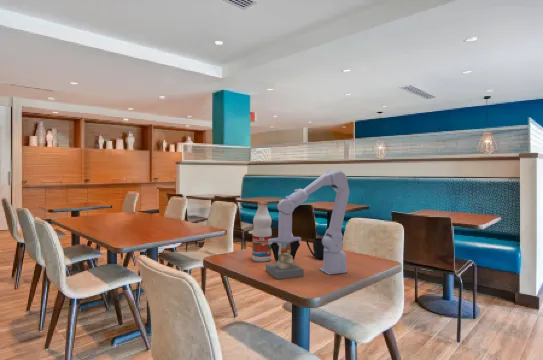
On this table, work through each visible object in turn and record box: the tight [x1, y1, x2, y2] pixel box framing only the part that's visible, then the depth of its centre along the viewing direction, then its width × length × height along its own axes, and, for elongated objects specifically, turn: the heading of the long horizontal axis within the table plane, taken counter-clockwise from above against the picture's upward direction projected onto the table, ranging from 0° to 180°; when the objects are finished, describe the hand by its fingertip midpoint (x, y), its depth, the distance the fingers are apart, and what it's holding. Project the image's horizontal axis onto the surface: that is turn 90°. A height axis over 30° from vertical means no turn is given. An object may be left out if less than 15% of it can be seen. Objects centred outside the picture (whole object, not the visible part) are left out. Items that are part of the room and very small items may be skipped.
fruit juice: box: [251, 201, 273, 263], centre depth 160 cm, size 9×9×28 cm
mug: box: [306, 237, 324, 261], centre depth 166 cm, size 8×12×10 cm
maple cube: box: [276, 253, 294, 269], centre depth 139 cm, size 5×5×5 cm
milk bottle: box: [277, 233, 294, 255], centre depth 156 cm, size 8×8×20 cm
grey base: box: [265, 262, 305, 280], centre depth 139 cm, size 12×12×3 cm
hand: (284, 259), depth 139 cm, fingers open, 7 cm apart
